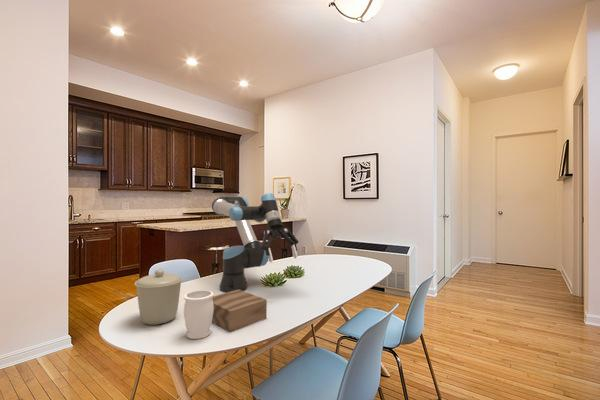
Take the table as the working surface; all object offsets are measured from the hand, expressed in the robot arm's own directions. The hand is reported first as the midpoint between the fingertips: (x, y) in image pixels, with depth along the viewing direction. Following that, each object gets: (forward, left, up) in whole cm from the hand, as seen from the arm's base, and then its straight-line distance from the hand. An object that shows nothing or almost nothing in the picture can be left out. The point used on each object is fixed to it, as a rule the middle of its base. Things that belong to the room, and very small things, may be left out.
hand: (284, 259), depth 147 cm
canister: (-20, -52, -21) cm, 60 cm away
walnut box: (+1, -29, -20) cm, 36 cm away
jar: (+4, -47, -21) cm, 52 cm away
